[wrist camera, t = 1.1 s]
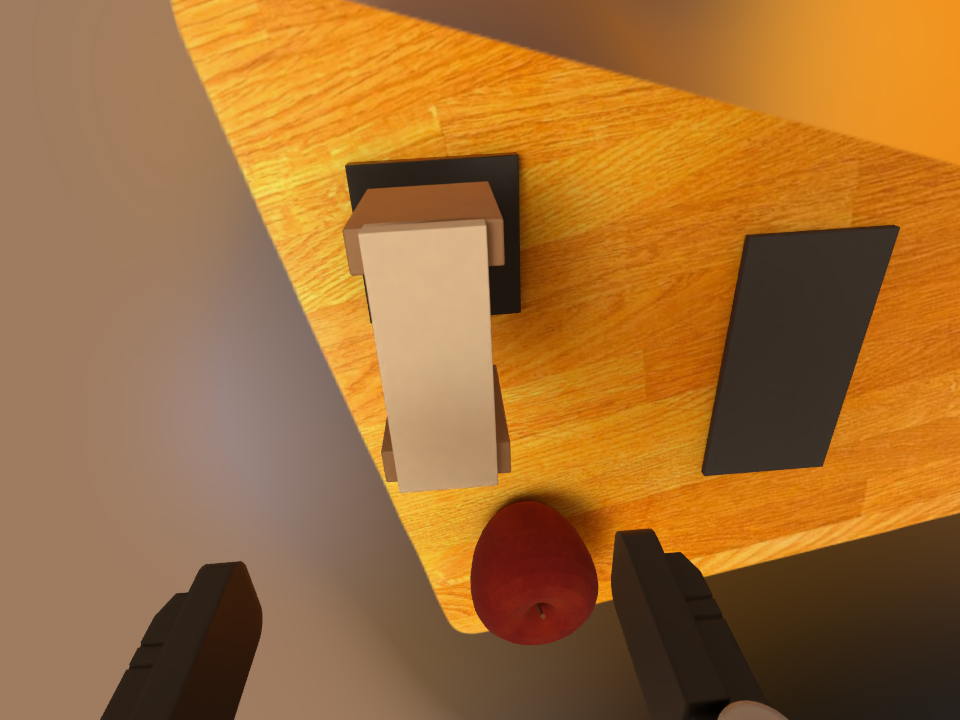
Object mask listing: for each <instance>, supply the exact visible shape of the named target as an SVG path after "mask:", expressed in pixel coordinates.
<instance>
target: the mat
mask: <svg viewBox="0 0 960 720" xmlns="http://www.w3.org/2000/svg"><path fill="white" fill-rule="evenodd" d="M899 230H900V227H898V226H895V225H888V226H874V227H859V228H844V229H829V230H815V231H800V232H785V233H771V234H756V235H746V238H745V243H744V248H743V254H742V259H741V264H740V270H739V275H738V280H737V286H736V291H735V296H734V301H733V307H732V312H731V317H730V323H729V328H728V333H727V339H726V344H725V349H724V354H723V360H722V365H721V370H720V376H719V381H718V386H717V392H716V397H715V402H714V408H713V413H712V418H711V423H710V429H709V434H708V439H707V445H706V450H705V455H704V461H703V466H702V473H703V475H704V476H710V475H723V474H735V473H747V472H760V471H772V470H784V469H797V468H809V467H821V466H823V463H824V460H825V457H826V454H827V451H828V448H829V445H830V442H831V439H832V436H833V433H834V429H835V426H836V423H837V420H838V417H839V414H840V411H841V408H842V405H843V402H844V399H845V396H846V393H847V389H848V386H849V383H850V380H851V377H852V374H853V371H854V368H855V365H856V362H857V359H858V356H859V353H860V349H861V346H862V343H863V340H864V337H865V334H866V331H867V328H868V325H869V322H870V319H871V316H872V313H873V310H874V306H875V303H876V300H877V297H878V294H879V291H880V288H881V285H882V282H883V279H884V276H885V273H886V270H887V266H888V263H889V260H890V257H891V254H892V251H893V248H894V245H895V242H896V239H897V236H898V233H899Z"/></svg>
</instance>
